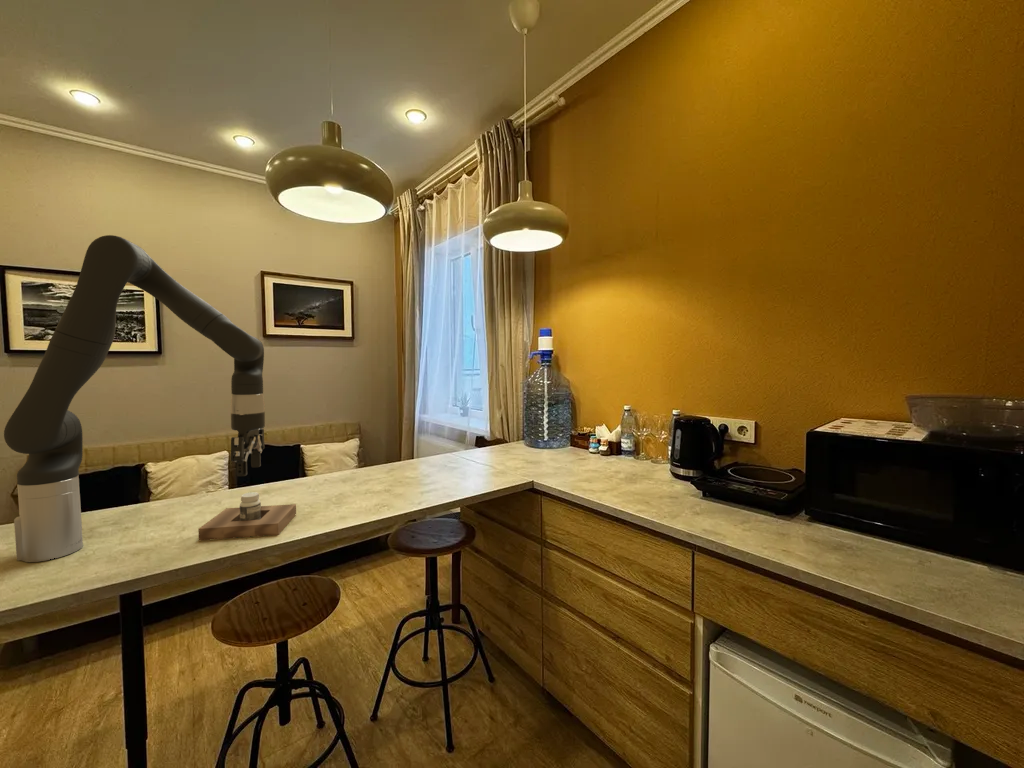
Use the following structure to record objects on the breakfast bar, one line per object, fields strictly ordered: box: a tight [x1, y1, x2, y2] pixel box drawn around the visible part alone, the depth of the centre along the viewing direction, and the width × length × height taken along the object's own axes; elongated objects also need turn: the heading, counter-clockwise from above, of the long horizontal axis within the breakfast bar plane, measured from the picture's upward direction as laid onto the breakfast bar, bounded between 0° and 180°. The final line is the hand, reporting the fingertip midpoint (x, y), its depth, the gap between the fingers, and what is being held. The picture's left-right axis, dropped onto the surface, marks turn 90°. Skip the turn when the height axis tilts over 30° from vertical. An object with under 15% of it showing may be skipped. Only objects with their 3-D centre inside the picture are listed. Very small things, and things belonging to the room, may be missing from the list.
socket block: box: [198, 503, 297, 541], centre depth 108 cm, size 18×14×3 cm
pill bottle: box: [239, 491, 262, 521], centre depth 108 cm, size 5×5×8 cm
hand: (249, 471), depth 107 cm, fingers open, 8 cm apart
